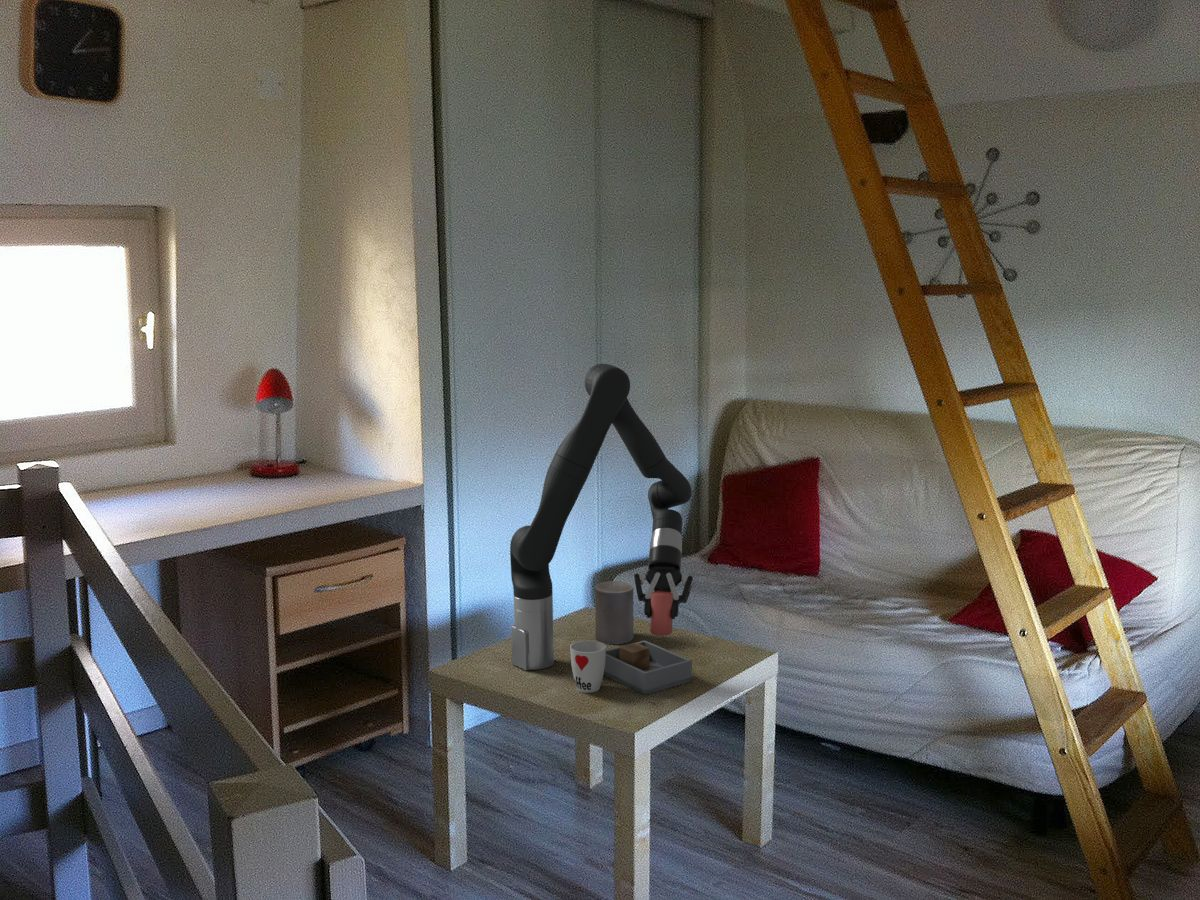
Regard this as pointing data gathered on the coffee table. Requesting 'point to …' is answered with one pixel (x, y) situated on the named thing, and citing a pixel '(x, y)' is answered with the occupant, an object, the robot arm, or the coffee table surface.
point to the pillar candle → (614, 612)
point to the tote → (649, 670)
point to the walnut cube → (635, 655)
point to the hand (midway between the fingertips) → (660, 616)
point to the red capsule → (661, 612)
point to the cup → (588, 664)
